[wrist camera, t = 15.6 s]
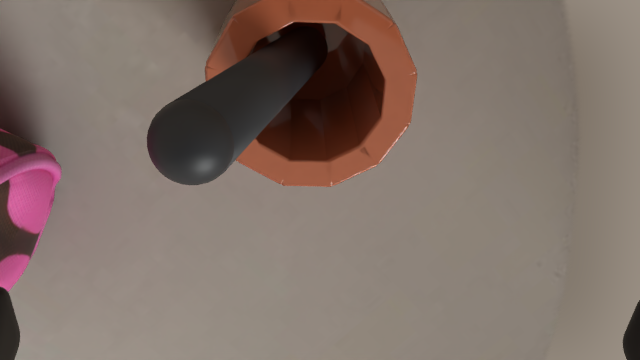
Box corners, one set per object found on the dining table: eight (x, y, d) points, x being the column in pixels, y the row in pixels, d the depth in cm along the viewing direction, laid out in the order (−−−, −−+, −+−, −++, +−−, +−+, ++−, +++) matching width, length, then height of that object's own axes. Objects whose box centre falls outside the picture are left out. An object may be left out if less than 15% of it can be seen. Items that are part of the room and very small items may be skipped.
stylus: (339, 40, 18) (236, 147, 8) (315, 76, 18) (192, 215, 9) (303, 14, 18) (154, 92, 8) (280, 51, 18) (115, 165, 9)
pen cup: (419, 16, 18) (458, 64, 14) (330, 140, 20) (339, 217, 16) (279, -81, 16) (273, -60, 12) (199, 65, 19) (169, 127, 14)
